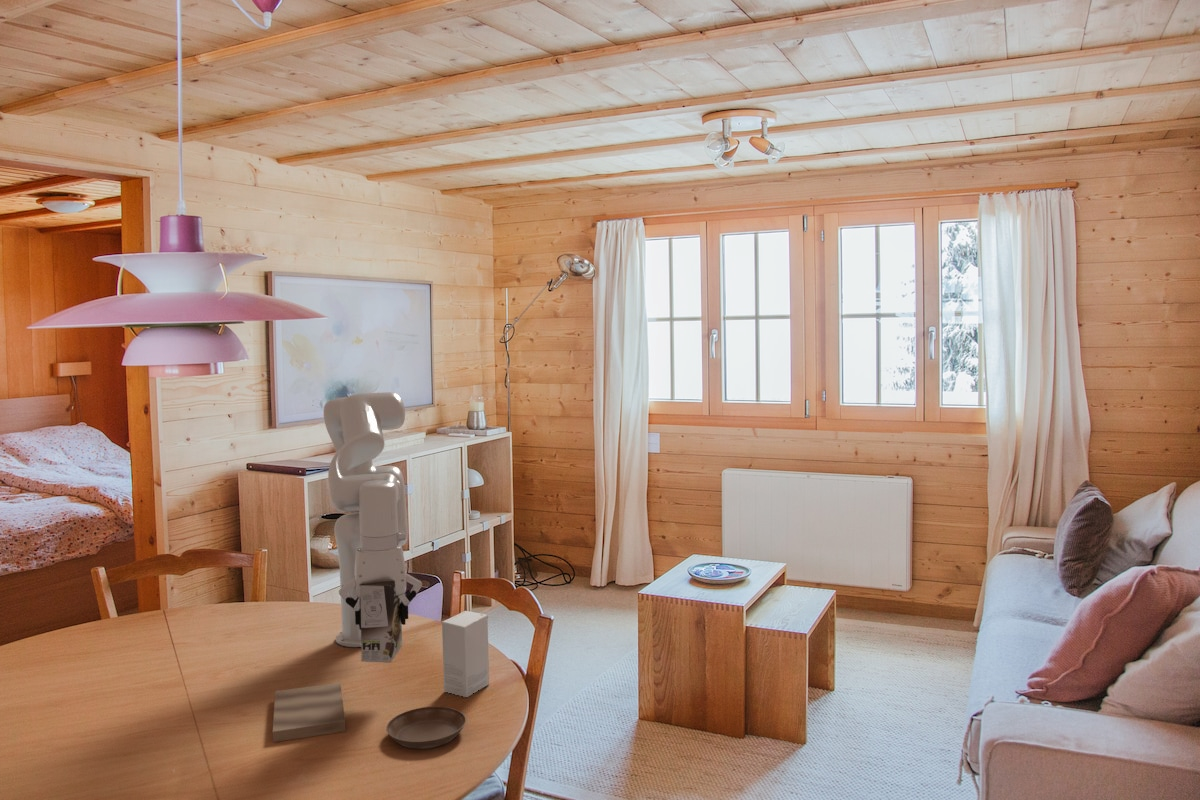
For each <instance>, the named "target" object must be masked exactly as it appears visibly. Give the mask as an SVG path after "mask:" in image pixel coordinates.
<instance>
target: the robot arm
mask: <svg viewBox="0 0 1200 800" xmlns="http://www.w3.org/2000/svg"><path fill="white" fill-rule="evenodd" d="M323 419H324V424H325V425H324V426H325V428H326V430H327V433H328V435H329V438H330V440H331V442H332V445H333V447H334V450H335V454H334V455H333V457H332V459H331V461H330V463H329V466H328V472H327V473H328V475H327V478H328V479H327V480H328V485H329V486H328V487H329V494H330V500H331V504H332V506H333V508H334V509H335V510H336V511H338V512H340V513H341V512H342V513H346V514H343V515H341V516H340V517H339V518H337V519H336V521H335V523H334V527H333V532H334V539H335V543H336V544H335V545H336V549H337V554H338V555H337V556H338V564H339V581H340V583H339V585H340V588H339V590H338V595H339V596H340V606H341V607H340V610H341V631H340V632H338V633H337V634H336V636H335V642H336V643H337V644H338V645H340V646H344V647H348V648H361V586H360V585H361V584H364V583H374V582H382V581H395V588H396V596H398V597H399V598H400V600H401V603H400V619H401V623H402V626H403V625H404V626H405V625H407V624H406V620H408V619H409V605H410V603H411V602H412V601H413V599H415V597H416V596H417V594H418V593H419V592H420V589H421V588H422V587H423V583H422V581H421V580H419V579H418V578H416V577H414V576H412V575H411V574H408V573H407V571H406V570H407V569H406V562H405V557H404V555H405V554H404V551H403V549H404V548H403V546H404V545H405V544H406V543H407V541H408V538H409V537H408V535H409V526H408V525H409V524H408V513H407V512H408V510H407V509H408V508H407V499H406V486H405V484H406V483H405V479H404V475H403V473H402V470H401V469H400V468H399V467H397V466H395V465H381V466H379V465H378V466H375V465H373V460H374V459H376V458H377V457H378V456H380V455H381V453H382V452H383V450H384V448H385V439H384V438H385V437H384V433H383V431H390V430H398V429H400V428H402V426H403V425H404V424H405V420H406V409H405V403H404V401H403V399H402V398H401V396H400V395H399V394H398V393H396V392H367V393H365V392H363V393H353V394H351V395H349V396H345V397H344V396H343V397H335V398H332V399H330V400H328V401H327V402H326V403H325V405H324V406H323ZM408 583H409V584H410V585H412V588H411V589H410V590H409V591H408V592H407V585H408ZM406 592H407V594H406Z"/></svg>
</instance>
